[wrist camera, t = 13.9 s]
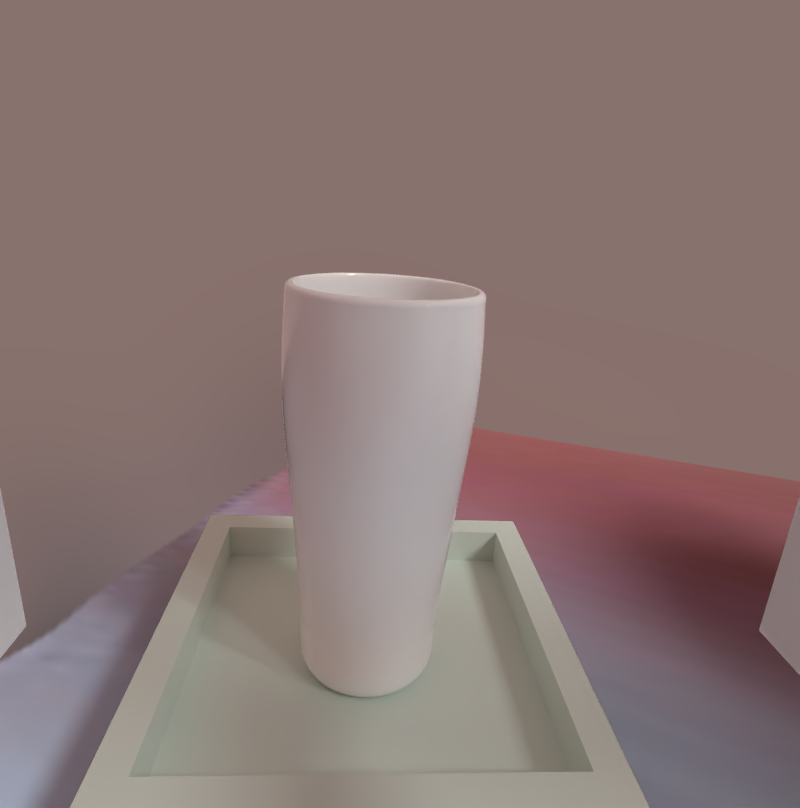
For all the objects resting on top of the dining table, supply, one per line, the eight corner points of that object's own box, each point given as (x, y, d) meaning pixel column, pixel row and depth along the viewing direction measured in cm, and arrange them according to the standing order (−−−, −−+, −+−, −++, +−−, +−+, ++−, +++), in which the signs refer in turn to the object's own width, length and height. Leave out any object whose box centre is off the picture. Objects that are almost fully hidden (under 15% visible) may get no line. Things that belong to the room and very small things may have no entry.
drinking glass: (269, 722, 21) (265, 293, 16) (293, 599, 27) (294, 268, 22) (460, 723, 21) (510, 307, 16) (438, 602, 28) (471, 278, 23)
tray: (507, 561, 33) (512, 521, 32) (634, 870, 17) (650, 809, 17) (213, 555, 31) (211, 514, 30) (75, 884, 16) (63, 819, 15)
